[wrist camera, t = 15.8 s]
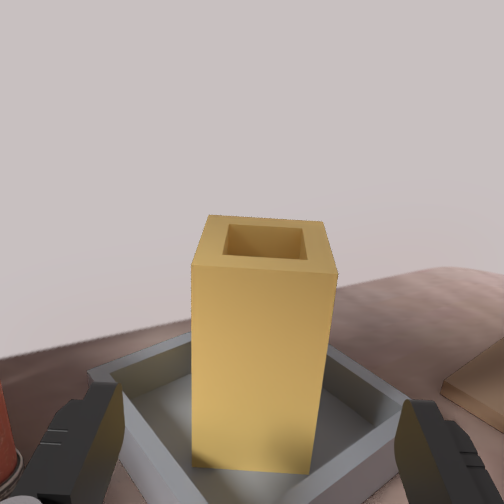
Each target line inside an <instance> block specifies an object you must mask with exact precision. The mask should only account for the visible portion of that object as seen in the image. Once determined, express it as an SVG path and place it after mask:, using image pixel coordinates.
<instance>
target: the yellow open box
mask: <svg viewBox="0 0 504 504" xmlns="http://www.w3.org/2000/svg"><path fill="white" fill-rule="evenodd" d="M337 279H338V272H337V268H336V265H335V261H334V258H333V254H332V251H331V248H330V244H329V241H328V238H327V234H326V231H325V227H324V224H323V222H320V221H302V220H287V219H271V218H252V217H237V216H222V215H209V216H208V219H207V221H206V224H205V227H204V230H203V233H202V236H201V239H200V241H199V244H198V247H197V250H196V253H195V256H194V259H193V262H192V264H191V372H192V467H199V468H214V469H229V470H244V471H259V472H274V473H289V474H304V475H309V471H310V464H311V457H312V450H313V444H314V437H315V430H316V423H317V416H318V409H319V403H320V396H321V389H322V382H323V375H324V368H325V362H326V355H327V348H328V341H329V334H330V327H331V321H332V314H333V307H334V300H335V293H336V286H337Z"/></svg>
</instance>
